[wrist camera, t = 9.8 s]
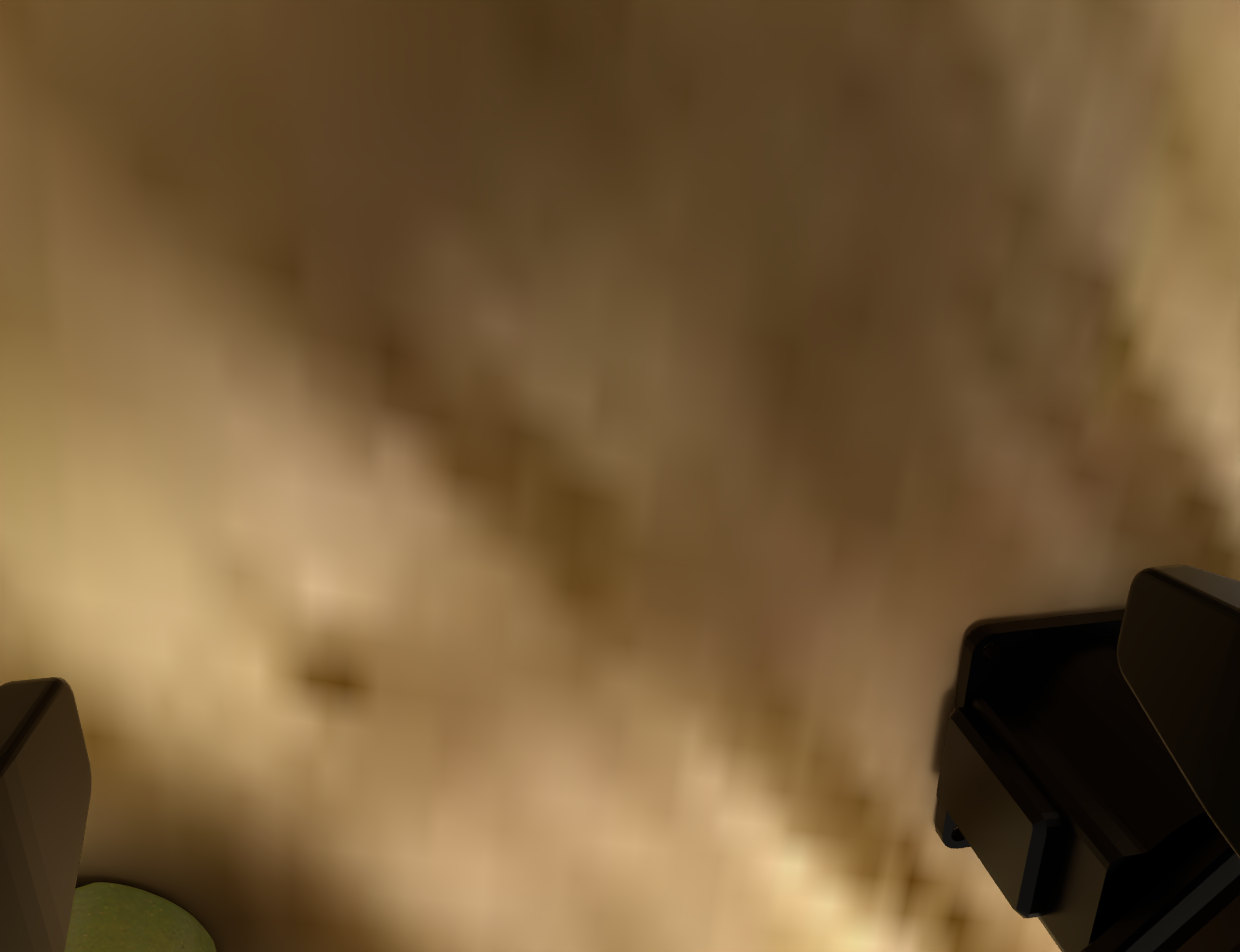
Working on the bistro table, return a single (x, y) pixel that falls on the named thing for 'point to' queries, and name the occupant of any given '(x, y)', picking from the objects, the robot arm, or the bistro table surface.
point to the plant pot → (131, 922)
